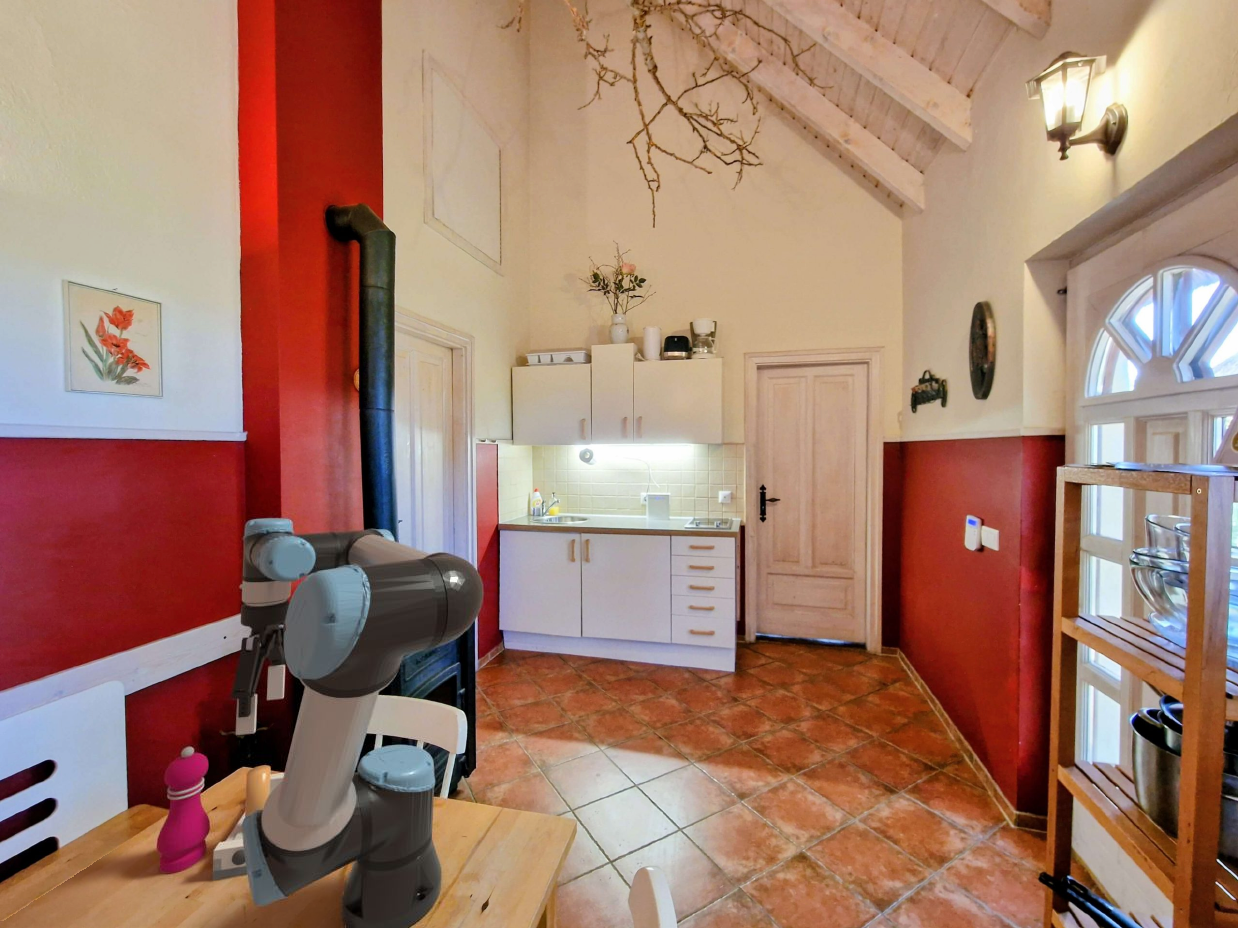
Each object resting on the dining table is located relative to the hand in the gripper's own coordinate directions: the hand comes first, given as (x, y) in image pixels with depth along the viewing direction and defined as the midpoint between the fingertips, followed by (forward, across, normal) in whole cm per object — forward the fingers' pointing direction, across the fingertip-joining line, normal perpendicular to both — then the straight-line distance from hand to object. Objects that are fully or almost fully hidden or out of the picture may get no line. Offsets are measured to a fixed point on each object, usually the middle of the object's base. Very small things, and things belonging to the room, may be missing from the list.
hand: (261, 714), depth 93 cm
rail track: (+24, -4, 0) cm, 25 cm away
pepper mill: (+24, 0, -11) cm, 27 cm away
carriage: (+22, +1, 0) cm, 23 cm away
